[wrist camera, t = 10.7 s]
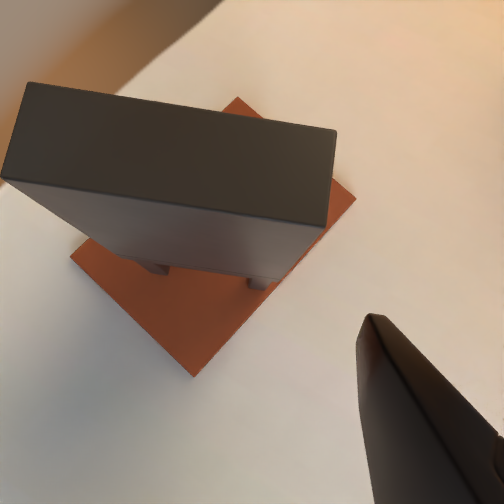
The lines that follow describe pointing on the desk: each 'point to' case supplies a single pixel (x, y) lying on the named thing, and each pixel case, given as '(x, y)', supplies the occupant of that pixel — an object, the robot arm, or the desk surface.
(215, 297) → the mat
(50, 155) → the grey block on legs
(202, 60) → the desk surface
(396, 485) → the robot arm
